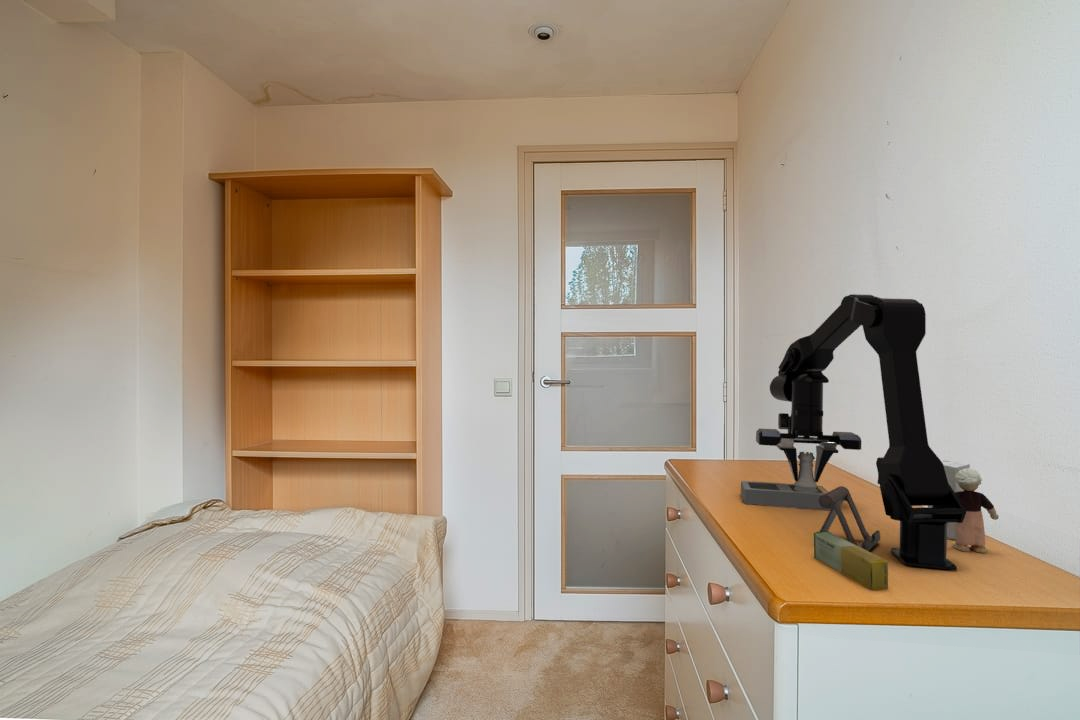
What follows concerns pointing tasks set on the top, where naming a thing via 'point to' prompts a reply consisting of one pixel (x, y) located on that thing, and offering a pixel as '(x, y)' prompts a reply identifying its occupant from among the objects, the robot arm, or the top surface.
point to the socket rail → (780, 495)
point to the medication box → (851, 560)
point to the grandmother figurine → (972, 512)
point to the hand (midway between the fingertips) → (805, 481)
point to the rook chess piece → (805, 474)
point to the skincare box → (951, 471)
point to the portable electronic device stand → (834, 503)
